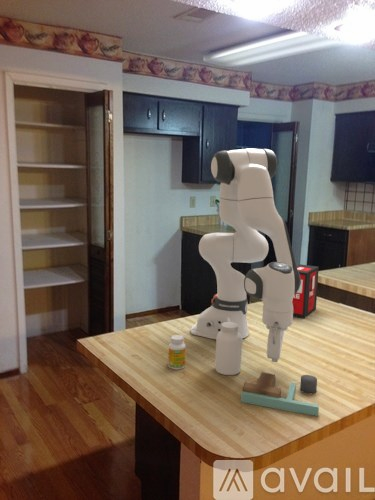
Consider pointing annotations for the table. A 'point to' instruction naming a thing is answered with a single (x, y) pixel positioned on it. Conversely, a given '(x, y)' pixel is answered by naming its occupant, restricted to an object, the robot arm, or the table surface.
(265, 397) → the rail
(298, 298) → the cleaning product box
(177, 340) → the supplement bottle
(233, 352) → the pill bottle
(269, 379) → the t block
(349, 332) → the table surface
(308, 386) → the grey rounded lump
